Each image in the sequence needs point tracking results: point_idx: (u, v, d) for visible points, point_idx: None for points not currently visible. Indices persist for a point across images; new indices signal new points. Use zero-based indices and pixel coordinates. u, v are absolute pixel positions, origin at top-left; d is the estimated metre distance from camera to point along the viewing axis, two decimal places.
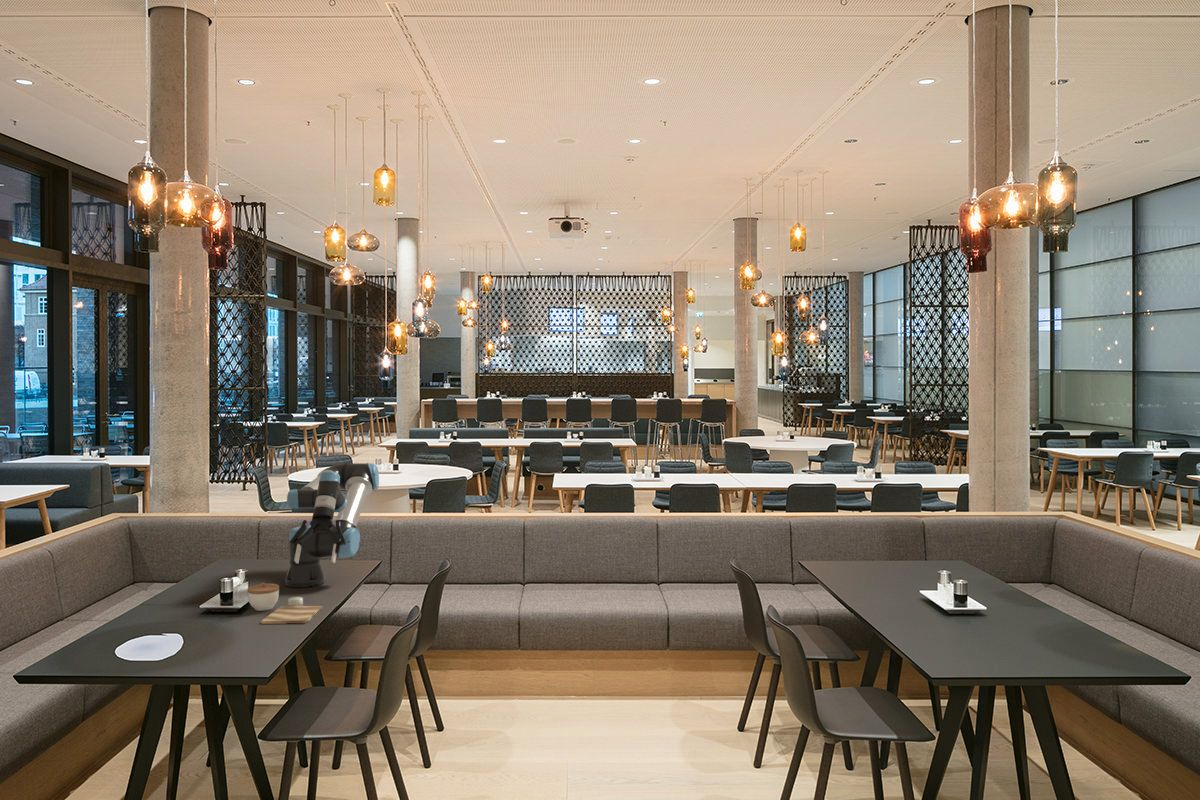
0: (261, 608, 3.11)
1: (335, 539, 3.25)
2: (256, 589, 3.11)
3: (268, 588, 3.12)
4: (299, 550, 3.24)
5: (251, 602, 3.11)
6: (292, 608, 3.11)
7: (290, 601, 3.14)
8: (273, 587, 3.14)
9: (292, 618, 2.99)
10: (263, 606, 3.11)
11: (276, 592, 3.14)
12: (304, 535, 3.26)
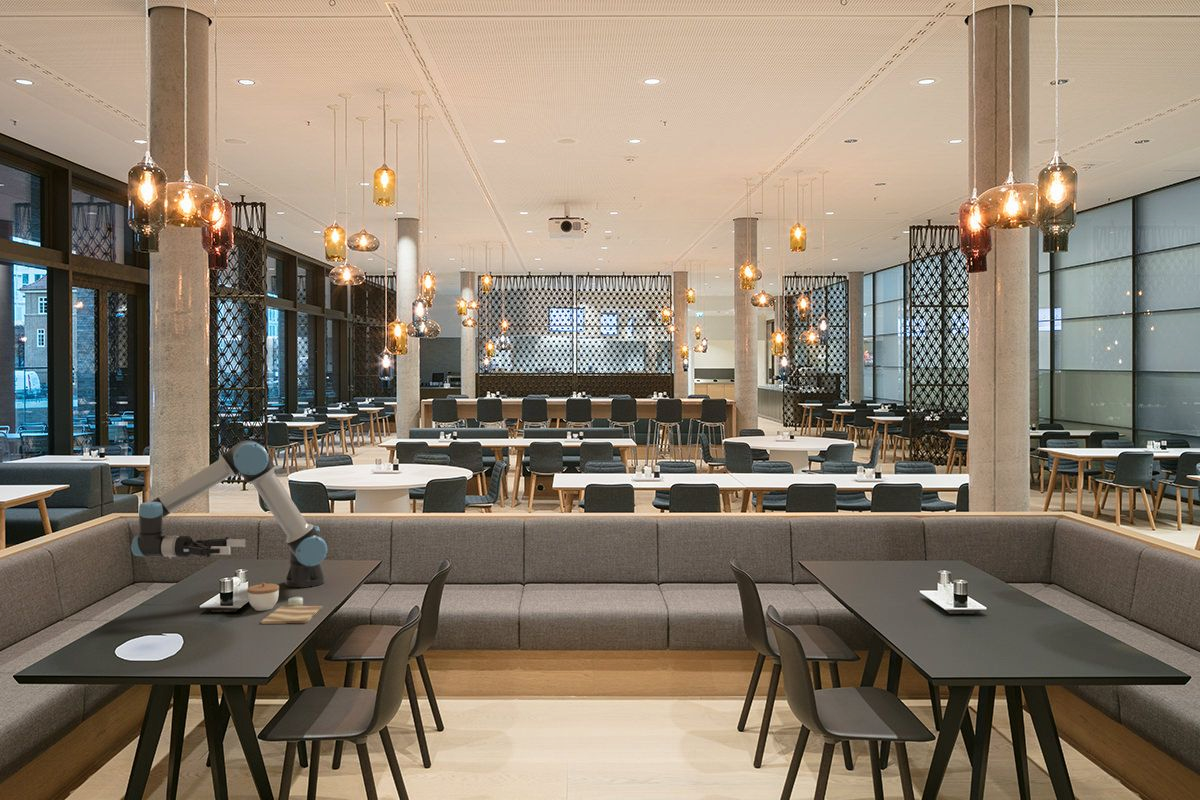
0: (261, 608, 3.11)
1: None
2: (256, 589, 3.11)
3: (268, 588, 3.12)
4: (232, 543, 3.20)
5: (251, 602, 3.11)
6: (292, 608, 3.11)
7: (290, 601, 3.14)
8: (273, 587, 3.14)
9: (292, 618, 2.99)
10: (263, 606, 3.11)
11: (276, 592, 3.14)
12: (215, 547, 3.19)
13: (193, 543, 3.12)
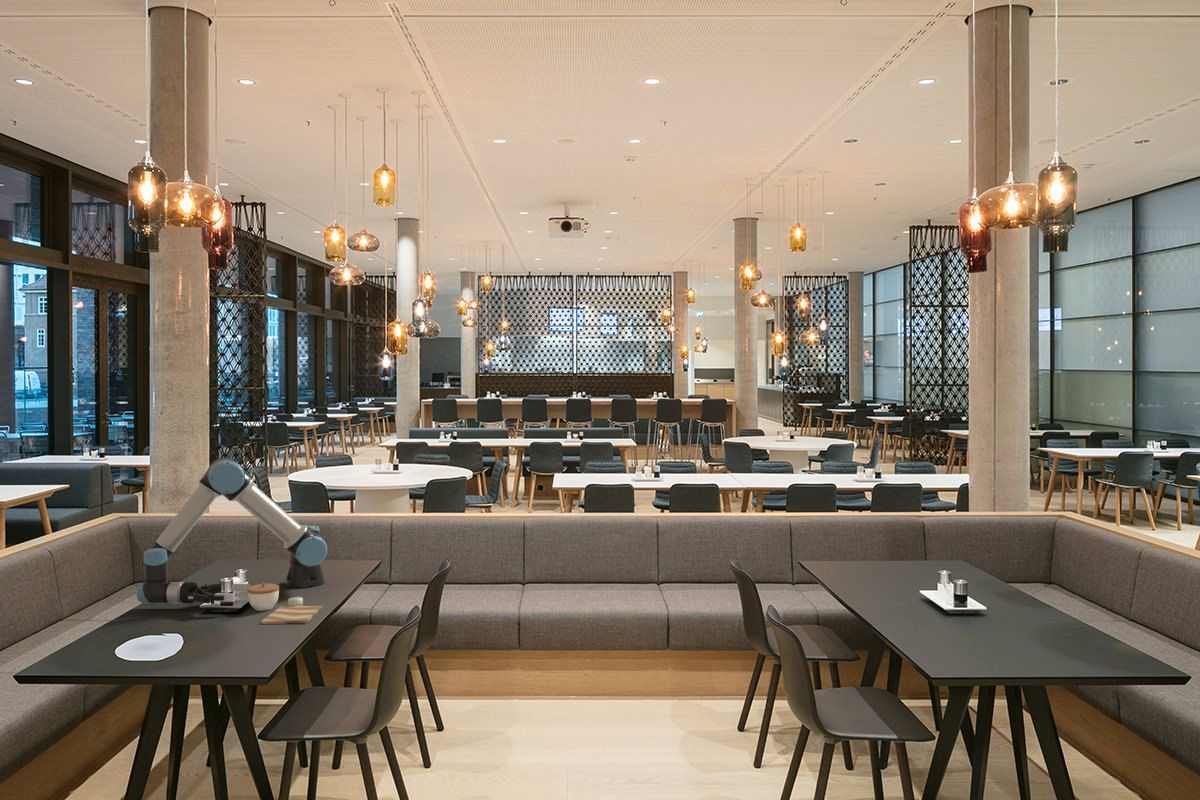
0: (261, 608, 3.11)
1: None
2: (256, 589, 3.11)
3: (268, 588, 3.12)
4: (236, 587, 3.21)
5: (251, 602, 3.11)
6: (292, 608, 3.11)
7: (290, 601, 3.14)
8: (273, 587, 3.14)
9: (292, 618, 2.99)
10: (263, 606, 3.11)
11: (276, 592, 3.14)
12: None
13: (198, 589, 3.12)
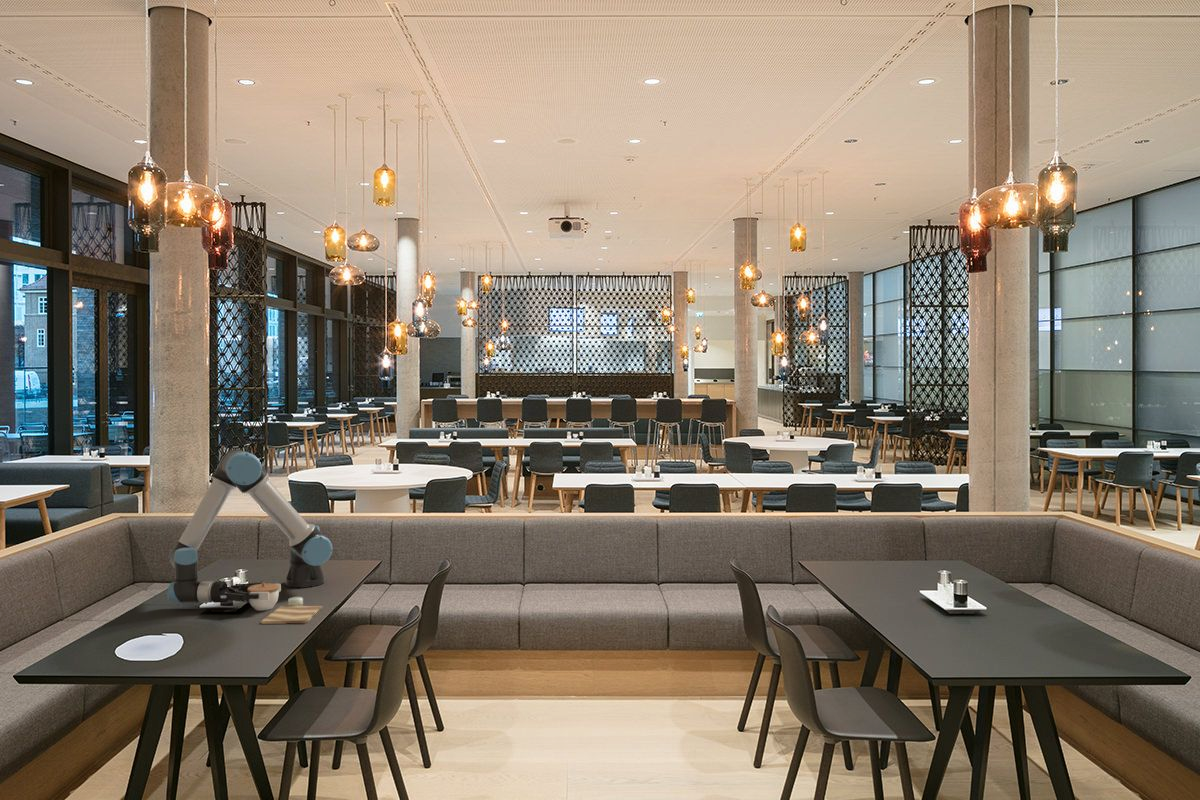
0: (261, 608, 3.11)
1: None
2: (256, 589, 3.11)
3: (268, 588, 3.12)
4: None
5: (251, 602, 3.11)
6: (292, 608, 3.11)
7: (290, 601, 3.14)
8: (273, 587, 3.14)
9: (292, 618, 2.99)
10: (263, 606, 3.11)
11: (276, 592, 3.14)
12: None
13: (229, 589, 3.13)
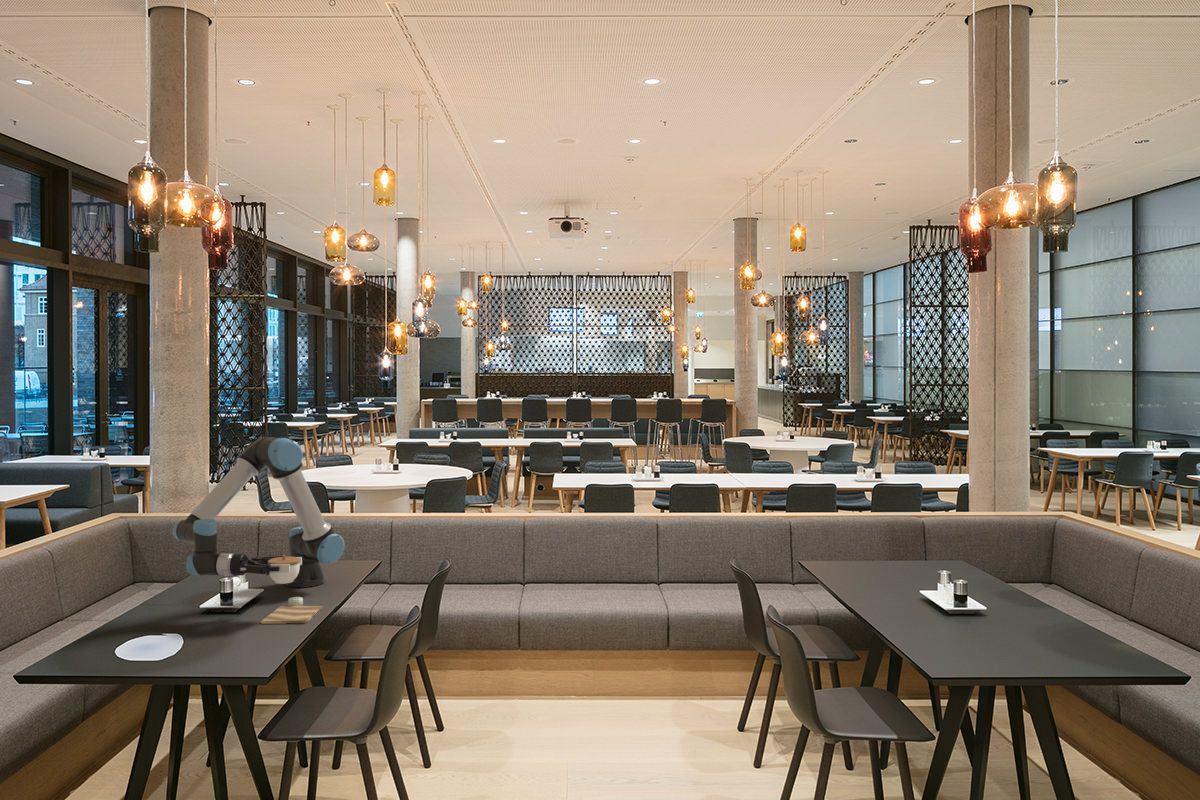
0: (281, 581, 3.02)
1: None
2: (276, 561, 3.01)
3: (289, 561, 3.03)
4: None
5: (271, 575, 3.01)
6: (292, 608, 3.11)
7: (290, 601, 3.14)
8: (294, 560, 3.04)
9: (292, 618, 2.99)
10: (283, 579, 3.01)
11: (297, 565, 3.04)
12: None
13: (249, 561, 3.03)
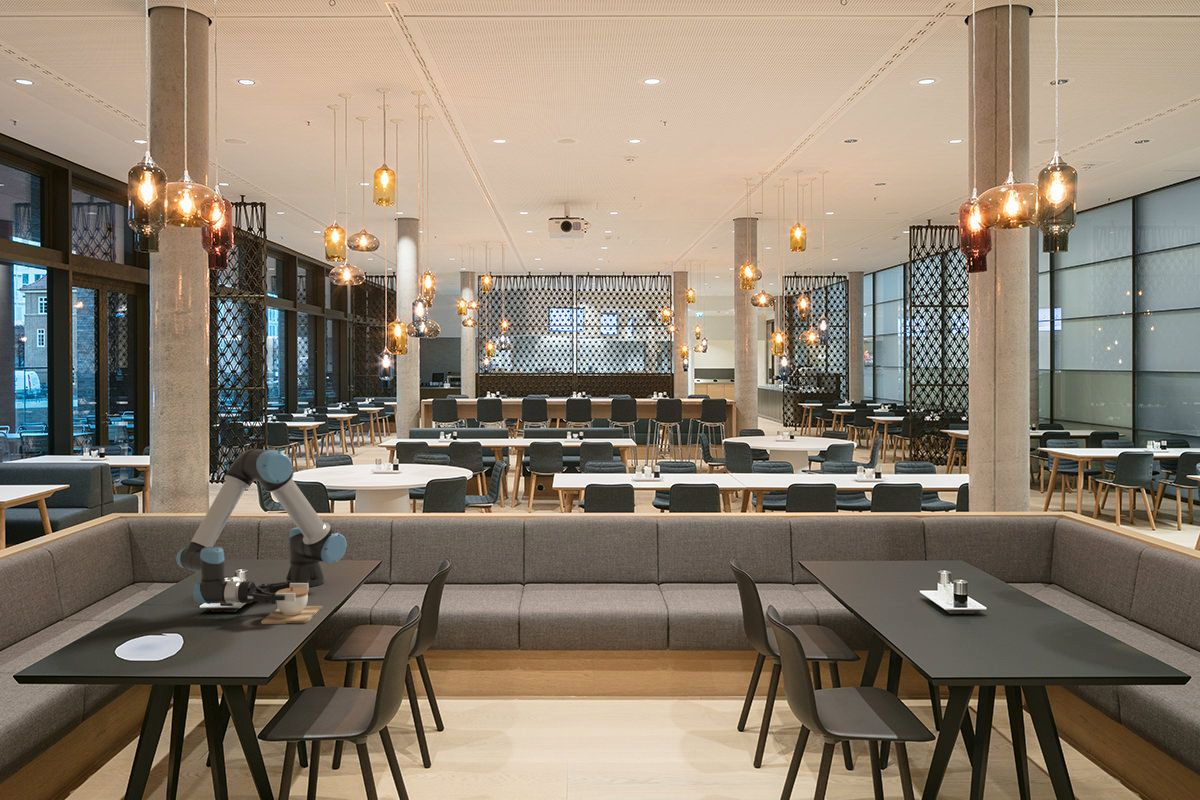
0: (290, 613, 3.02)
1: None
2: None
3: (297, 592, 3.02)
4: None
5: (280, 607, 3.01)
6: None
7: None
8: (302, 591, 3.04)
9: (292, 618, 2.99)
10: (292, 611, 3.01)
11: (305, 596, 3.04)
12: None
13: (256, 589, 3.03)
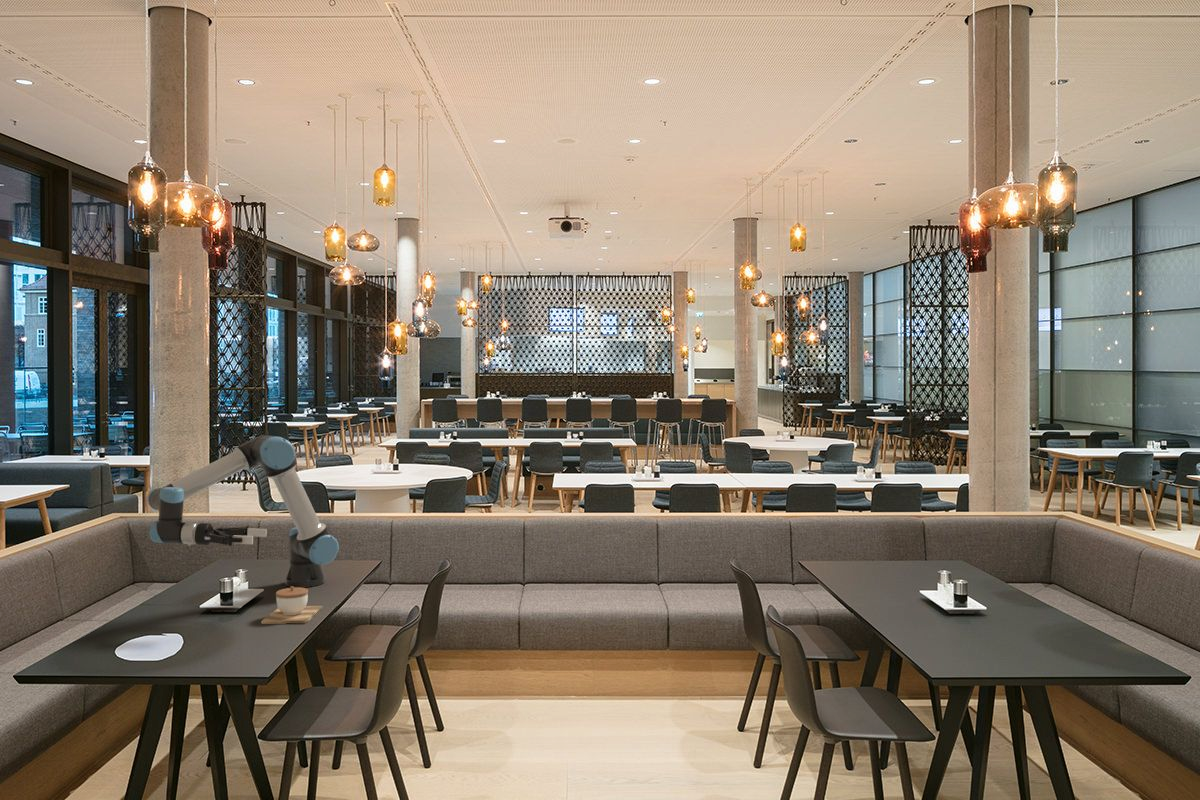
0: (290, 613, 3.02)
1: None
2: (285, 593, 3.01)
3: (297, 592, 3.02)
4: (252, 532, 3.12)
5: (280, 607, 3.01)
6: None
7: None
8: (302, 591, 3.04)
9: (292, 618, 2.99)
10: (292, 611, 3.01)
11: (305, 596, 3.04)
12: None
13: (214, 531, 3.03)
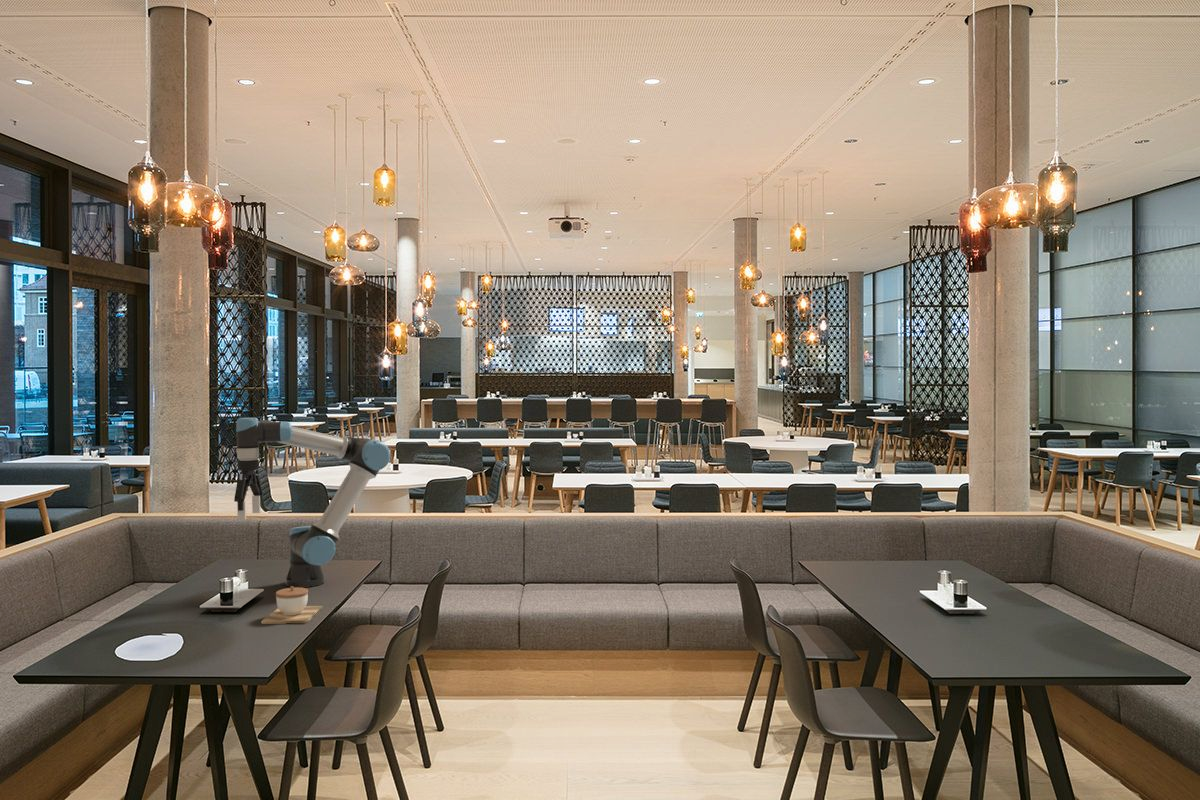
0: (290, 613, 3.02)
1: None
2: (285, 593, 3.01)
3: (297, 592, 3.02)
4: (255, 501, 3.31)
5: (280, 607, 3.01)
6: None
7: None
8: (302, 591, 3.04)
9: (292, 618, 2.99)
10: (292, 611, 3.01)
11: (305, 596, 3.04)
12: None
13: (250, 476, 3.22)
